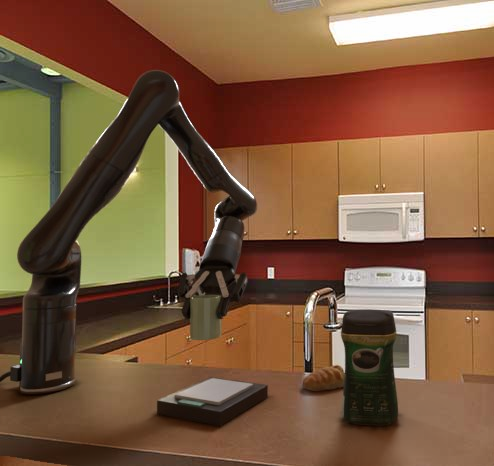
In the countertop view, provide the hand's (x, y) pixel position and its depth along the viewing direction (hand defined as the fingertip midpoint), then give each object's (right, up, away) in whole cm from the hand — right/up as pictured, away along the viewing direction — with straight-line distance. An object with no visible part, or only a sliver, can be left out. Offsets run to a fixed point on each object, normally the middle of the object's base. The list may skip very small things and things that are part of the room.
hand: (203, 316), depth 78 cm
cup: (0, -4, +2) cm, 5 cm away
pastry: (+23, -17, +8) cm, 30 cm away
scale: (+3, -16, -2) cm, 17 cm away
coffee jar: (+32, -16, -9) cm, 37 cm away
